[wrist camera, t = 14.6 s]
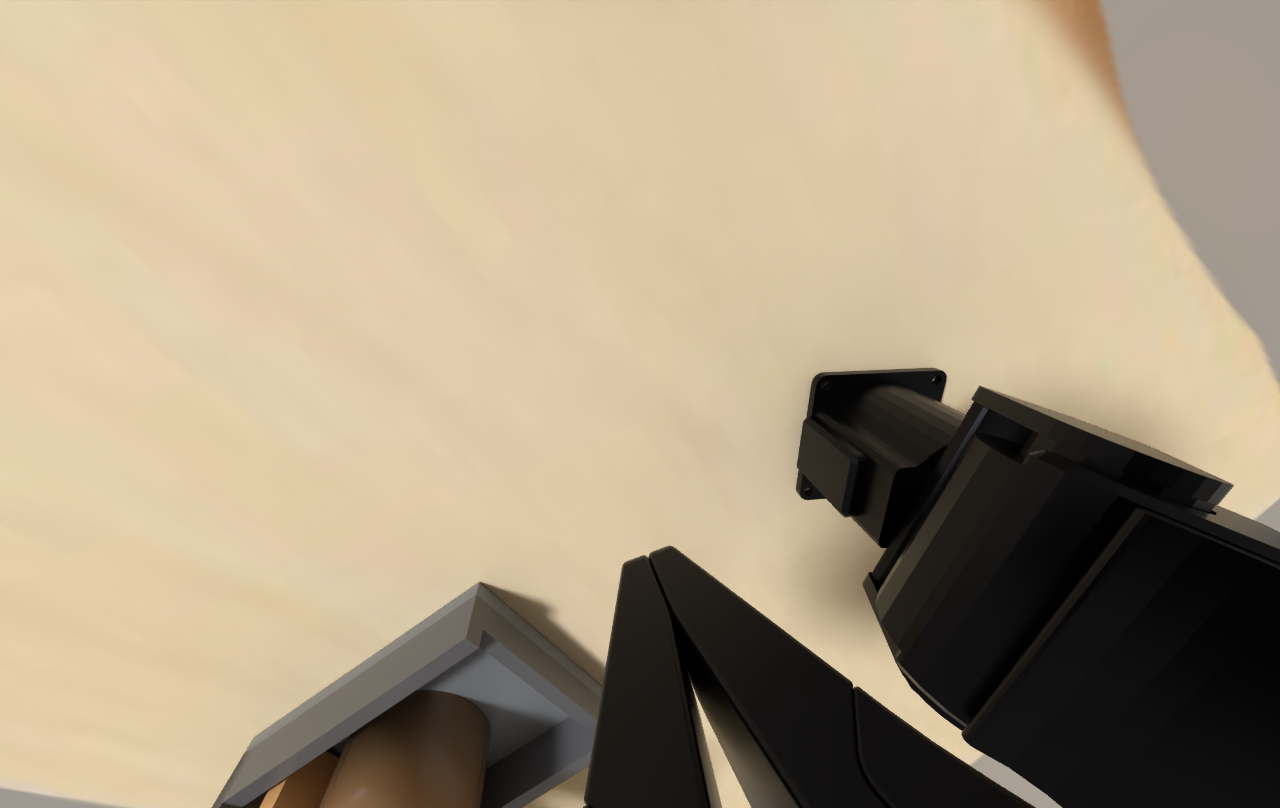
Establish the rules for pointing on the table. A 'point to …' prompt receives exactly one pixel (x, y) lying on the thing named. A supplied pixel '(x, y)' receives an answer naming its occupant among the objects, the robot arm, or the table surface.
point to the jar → (415, 756)
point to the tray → (462, 665)
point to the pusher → (303, 785)
